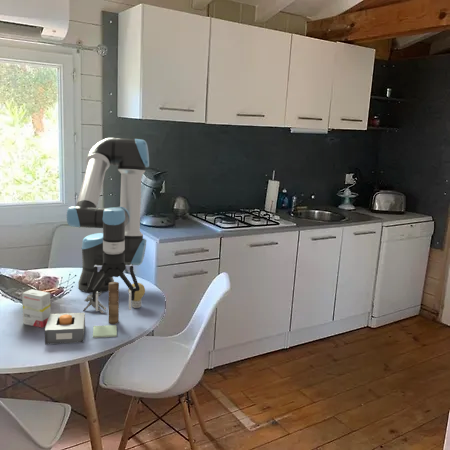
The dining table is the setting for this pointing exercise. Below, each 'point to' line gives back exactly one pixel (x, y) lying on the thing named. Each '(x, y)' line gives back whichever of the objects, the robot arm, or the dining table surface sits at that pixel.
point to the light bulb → (138, 296)
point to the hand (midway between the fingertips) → (113, 309)
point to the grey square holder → (65, 329)
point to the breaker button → (65, 319)
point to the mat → (105, 331)
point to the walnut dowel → (113, 302)
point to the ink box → (36, 308)
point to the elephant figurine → (94, 303)
